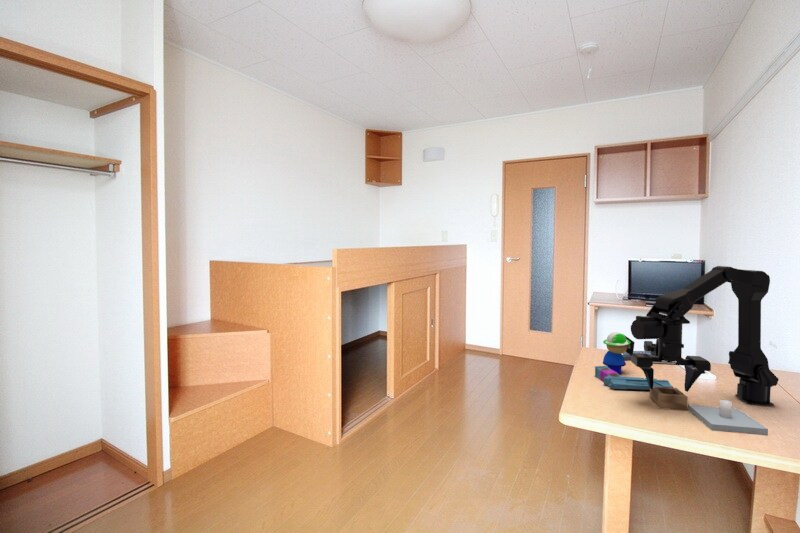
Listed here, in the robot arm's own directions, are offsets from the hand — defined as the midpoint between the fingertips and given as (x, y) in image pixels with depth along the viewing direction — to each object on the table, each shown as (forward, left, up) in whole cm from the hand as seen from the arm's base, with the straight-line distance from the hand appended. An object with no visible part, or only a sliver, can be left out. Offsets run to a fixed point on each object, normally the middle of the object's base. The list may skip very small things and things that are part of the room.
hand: (668, 389), depth 112 cm
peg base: (-10, +9, -4) cm, 14 cm away
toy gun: (+5, -16, -5) cm, 17 cm away
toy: (+6, -28, -5) cm, 29 cm away
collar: (0, 0, -4) cm, 4 cm away
